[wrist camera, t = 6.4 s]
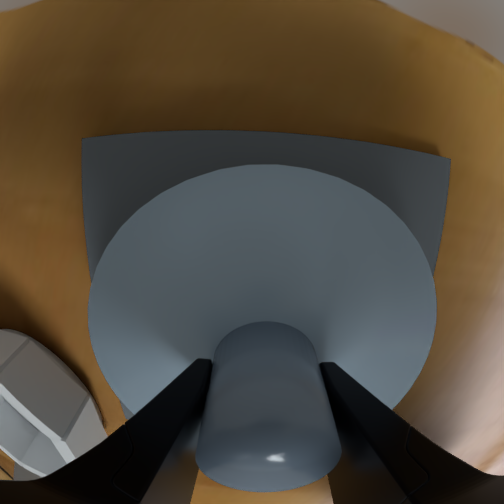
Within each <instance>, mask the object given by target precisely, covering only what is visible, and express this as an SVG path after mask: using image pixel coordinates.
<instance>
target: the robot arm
mask: <svg viewBox="0 0 504 504" xmlns="http://www.w3.org/2000/svg"><path fill="white" fill-rule="evenodd" d="M319 366H320V370H321V373H322V377H323V380H324V384H325V388H326V391H327V395H328V399H329V402H330V406H331V410H332V414H333V418H334V421H335V425H336V429H337V433H338V437H339V441H340V445H341V450H342V453H341V457H340V460H339V462H338V463H337V465H336V466H335V467H334V468H333V469H332V470H331V471H330V472H329V473H328V474H327V475H328V479H329V484H330V489H331V494H332V498H333V503H334V504H504V476H498V475H491V474H487V473H484V472H482V471H480V470H478V469H476V468H474V467H473V466H471V465H469V464H467V463H466V462H464V461H462V460H461V459H459V458H457V457H456V456H454V455H452V454H451V453H449V452H447V451H446V450H444V449H443V448H441V447H440V446H438V445H436V444H435V443H433V442H432V441H431V440H429V439H428V438H427V437H425V436H424V435H423V434H421V433H420V432H419V431H418V430H416V429H415V428H414V427H412V426H411V427H410V424H409V423H407V422H406V421H405V420H404V419H402V418H401V417H400V416H399V415H397V414H396V413H395V412H394V411H392V410H391V409H390V408H389V407H388V406H386V405H385V404H384V403H383V402H381V401H380V400H379V399H378V398H377V397H375V396H374V395H373V394H372V393H371V392H369V391H368V390H367V389H366V388H365V387H363V386H362V385H361V384H360V383H359V382H357V381H356V380H355V379H354V378H353V377H351V376H350V375H349V374H348V373H347V372H345V371H344V370H343V369H342V368H341V367H339V366H338V365H337V364H336V363H335V362H321V363H320V364H319ZM211 368H212V360H211V359H204V358H198V359H196V360H195V361H194V362H193V363H191V364H190V365H189V366H188V367H187V368H186V369H185V370H184V371H183V372H182V373H181V374H179V375H178V376H177V377H176V378H175V379H174V380H173V381H172V382H171V383H170V384H168V385H167V386H166V387H165V388H164V389H163V390H162V391H161V392H160V393H158V394H157V395H156V396H155V397H154V398H153V399H152V400H150V401H149V402H148V403H147V404H146V405H145V406H144V407H143V408H141V409H140V410H139V411H138V412H137V413H136V414H135V415H133V416H132V417H131V418H130V419H129V420H128V421H126V422H125V425H124V424H123V425H122V426H120V427H119V428H118V429H117V430H116V431H115V432H113V433H112V434H111V435H110V436H108V437H107V438H106V439H104V440H103V441H102V442H101V443H99V444H98V445H96V446H95V447H93V448H92V449H90V450H89V451H87V452H86V453H84V454H83V455H81V456H79V457H78V458H76V459H74V460H73V461H71V462H69V463H68V464H66V465H64V466H63V467H61V468H59V469H58V470H56V471H54V472H53V473H51V474H49V475H47V476H44V477H42V478H38V479H34V480H25V481H21V480H0V504H190V502H191V498H192V494H193V490H194V486H195V482H196V478H197V474H198V470H199V467H198V465H197V463H196V458H195V455H196V449H197V443H198V438H199V432H200V427H201V421H202V416H203V410H204V405H205V400H206V395H207V389H208V384H209V379H210V373H211Z"/></svg>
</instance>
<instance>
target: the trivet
mask: <svg viewBox="0 0 504 504" xmlns="http://www.w3.org/2000/svg"><path fill="white" fill-rule="evenodd" d="M450 163H451V159H449V158H445V157H441V156H437V155H432V154H428V153H423V152H419V151H414V150H409V149H404V148H399V147H393V146H388V145H382V144H376V143H370V142H363V141H356V140H349V139H342V138H334V137H325V136H316V135H305V134H294V133H280V132H263V131H236V130H185V131H159V132H142V133H129V134H117V135H107V136H98V137H90V138H82V196H83V213H84V226H85V237H86V246H87V255H88V263H89V270H90V277H91V283H92V281H93V277H94V274H95V271H96V267H97V265H98V263H99V261H100V259H101V257H102V255H103V253H104V251H105V249H106V247H107V246H108V244H109V243H110V241H111V240H112V238H113V237H114V236H115V234H116V233H117V232H118V230H119V229H120V227H121V226H122V225H123V224H124V223H125V222H126V221H127V220H128V219H129V218H130V217H131V216H132V215H133V214H134V213H135V212H136V211H137V210H138V209H140V208H141V207H142V206H144V205H145V204H147V203H148V202H149V201H151V200H152V199H153V198H155V197H156V196H158V195H159V194H161V193H162V192H164V191H166V190H168V189H170V188H172V187H174V186H176V185H178V184H180V183H182V182H184V181H186V180H188V179H191V178H194V177H197V176H200V175H204V174H207V173H210V172H213V171H216V170H219V169H224V168H230V167H236V166H242V165H248V164H279V165H287V166H294V167H301V168H307V169H311V170H315V171H318V172H322V173H325V174H328V175H331V176H335V177H338V178H340V179H343V180H345V181H347V182H349V183H351V184H353V185H355V186H357V187H359V188H361V189H363V190H365V191H367V192H368V193H370V194H371V195H372V196H374V197H375V198H377V199H378V200H380V201H381V202H382V203H384V204H385V205H387V206H388V207H389V208H390V209H391V210H392V211H393V212H394V213H395V214H396V215H397V216H398V217H399V218H400V219H401V220H402V221H403V222H404V223H405V224H406V226H407V227H408V228H409V230H410V231H411V233H412V234H413V235H414V237H415V238H416V240H417V241H418V242H419V244H420V246H421V248H422V250H423V252H424V254H425V256H426V259H427V261H428V263H429V266H430V270H431V273H432V276H433V274H434V270H435V266H436V261H437V256H438V251H439V246H440V241H441V236H442V230H443V224H444V217H445V211H446V203H447V195H448V186H449V176H450ZM119 400H120V399H119ZM120 403H121V406H122V409H123V412H124V414H125V417H126V419H130V418H131V417H132V416H133V415H134V414H133V413H132V412H131V411H130V410H129V409H128V408H127V407H126V406H125V405H124V404H123V402H122V401H121V400H120Z"/></svg>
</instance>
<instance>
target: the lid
mask: <svg viewBox="0 0 504 504" xmlns="http://www.w3.org/2000/svg"><path fill="white" fill-rule="evenodd" d="M436 315H437V300H436V292H435V285H434V280H433V276H432V273H431V270H430V266H429V263H428V261H427V259H426V256H425V254H424V252H423V250H422V248H421V246H420V244H419V242H418V241H417V240H416V238H415V237H414V235H413V234H412V233H411V231H410V230H409V228H408V227H407V226H406V224H405V223H404V222H403V221H402V220H401V219H400V218H399V217H398V216H397V215H396V214H395V213H394V212H393V211H392V210H391V209H390V208H389V207H388V206H387V205H385V204H384V203H382V202H381V201H380V200H378V199H377V198H375V197H374V196H372V195H371V194H370V193H368V192H367V191H365V190H363V189H361V188H359V187H357V186H355V185H353V184H351V183H349V182H347V181H345V180H343V179H340V178H338V177H335V176H331V175H328V174H325V173H322V172H318V171H315V170H311V169H307V168H301V167H294V166H287V165H279V164H248V165H242V166H236V167H230V168H224V169H219V170H216V171H213V172H210V173H207V174H204V175H200V176H197V177H194V178H191V179H188V180H186V181H184V182H182V183H180V184H178V185H176V186H174V187H172V188H170V189H168V190H166V191H164V192H162V193H161V194H159V195H158V196H156V197H155V198H153V199H152V200H151V201H149V202H148V203H147V204H145V205H144V206H142V207H141V208H140V209H138V210H137V211H136V212H135V213H134V214H133V215H132V216H131V217H130V218H129V219H128V220H127V221H126V222H125V223H124V224H123V225H122V226H121V227H120V229H119V230H118V232H117V233H116V234H115V236H114V237H113V238H112V240H111V241H110V243H109V244H108V246H107V247H106V249H105V251H104V253H103V255H102V257H101V259H100V261H99V263H98V265H97V267H96V271H95V274H94V277H93V281H92V284H91V288H90V294H89V302H88V328H89V333H90V339H91V344H92V348H93V351H94V354H95V357H96V360H97V363H98V365H99V367H100V369H101V371H102V373H103V375H104V377H105V379H106V381H107V382H108V384H109V385H110V387H111V388H112V390H113V391H114V393H115V394H116V395H117V397H118V398H119V399H120V400H121V401H122V402H123V404H124V405H125V406H126V407H127V408H128V409H129V410H130V411H131V412H132V413H133V414H134V415H135V414H136V413H137V412H138V411H139V410H140V409H141V408H143V407H144V406H145V405H146V404H147V403H148V402H149V401H150V400H152V399H153V398H154V397H155V396H156V395H157V394H158V393H160V392H161V391H162V390H163V389H164V388H165V387H166V386H167V385H168V384H170V383H171V382H172V381H173V380H174V379H175V378H176V377H177V376H178V375H179V374H181V373H182V372H183V371H184V370H185V369H186V368H187V367H188V366H189V365H190V364H191V363H193V362H194V361H195V360H196V359H198V358H204V359H211V360H212V368H211V373H210V379H209V384H208V389H207V395H206V400H205V405H204V410H203V416H202V421H201V427H200V432H199V438H198V443H197V449H196V455H195V458H196V463H197V465H198V467H199V469H200V470H201V471H202V472H203V473H204V474H205V475H206V476H207V477H209V478H210V479H212V480H214V481H216V482H217V483H220V484H222V485H224V486H227V487H231V488H234V489H238V490H244V491H252V492H277V491H284V490H290V489H295V488H298V487H302V486H305V485H307V484H310V483H312V482H314V481H317V480H318V479H320V478H322V477H324V476H325V475H326V474H328V473H329V472H330V471H331V470H332V469H333V468H334V467H335V466H336V465H337V463H338V462H339V460H340V457H341V453H342V450H341V445H340V441H339V437H338V433H337V429H336V425H335V421H334V418H333V414H332V410H331V406H330V402H329V399H328V395H327V391H326V388H325V384H324V380H323V377H322V373H321V370H320V366H319V364H320V363H321V362H335V363H336V364H337V365H338V366H339V367H341V368H342V369H343V370H344V371H345V372H347V373H348V374H349V375H350V376H351V377H353V378H354V379H355V380H356V381H357V382H359V383H360V384H361V385H362V386H363V387H365V388H366V389H367V390H368V391H369V392H371V393H372V394H373V395H374V396H375V397H377V398H378V399H379V400H380V401H381V402H383V403H384V404H385V405H386V406H388V407H389V408H390V409H391V410H392V409H393V408H394V407H395V406H396V405H397V404H398V403H399V402H400V401H401V399H402V398H403V397H404V396H405V394H406V393H407V392H408V391H409V389H410V388H411V387H412V385H413V383H414V382H415V380H416V379H417V377H418V375H419V374H420V372H421V370H422V368H423V366H424V364H425V361H426V359H427V357H428V354H429V351H430V348H431V345H432V341H433V337H434V332H435V326H436Z"/></svg>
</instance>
